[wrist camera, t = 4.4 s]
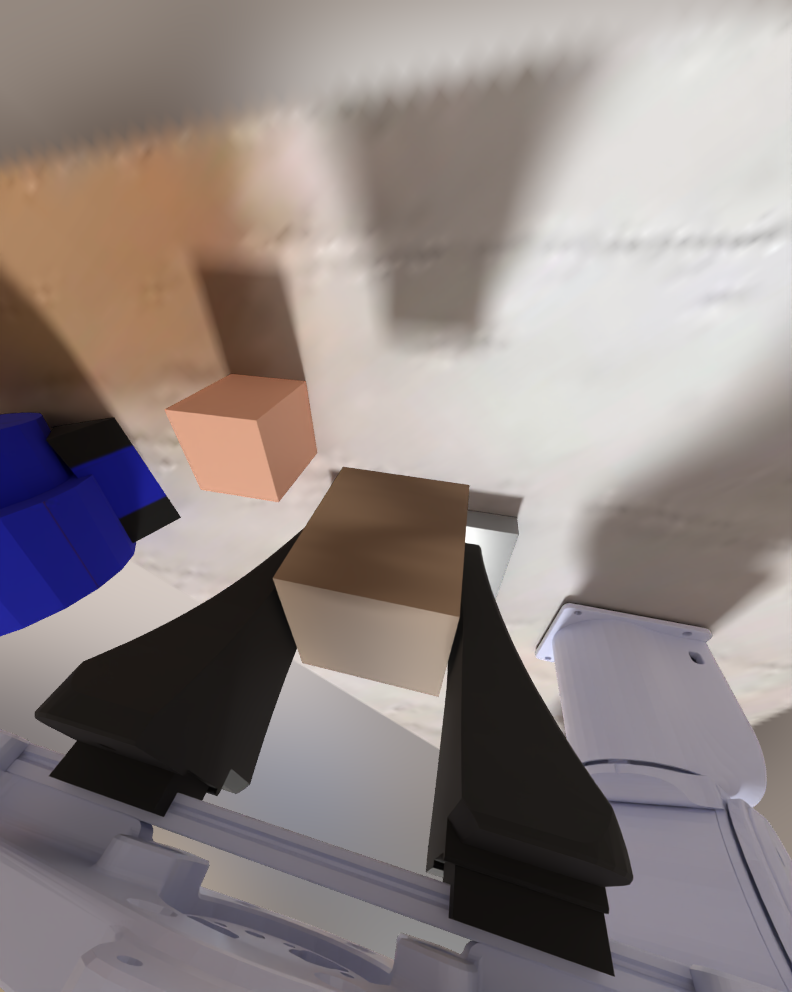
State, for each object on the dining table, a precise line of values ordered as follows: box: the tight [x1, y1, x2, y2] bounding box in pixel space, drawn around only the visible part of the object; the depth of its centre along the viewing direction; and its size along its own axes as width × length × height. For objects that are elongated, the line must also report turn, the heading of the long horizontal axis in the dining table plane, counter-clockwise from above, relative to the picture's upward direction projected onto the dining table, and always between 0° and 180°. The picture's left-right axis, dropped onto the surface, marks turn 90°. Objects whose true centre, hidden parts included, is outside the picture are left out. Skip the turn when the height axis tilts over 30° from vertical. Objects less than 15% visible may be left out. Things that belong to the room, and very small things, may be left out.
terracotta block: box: [165, 374, 317, 502], centre depth 17 cm, size 4×4×5 cm
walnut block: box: [273, 467, 469, 697], centre depth 11 cm, size 4×4×5 cm
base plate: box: [465, 510, 519, 600], centre depth 24 cm, size 12×12×2 cm
